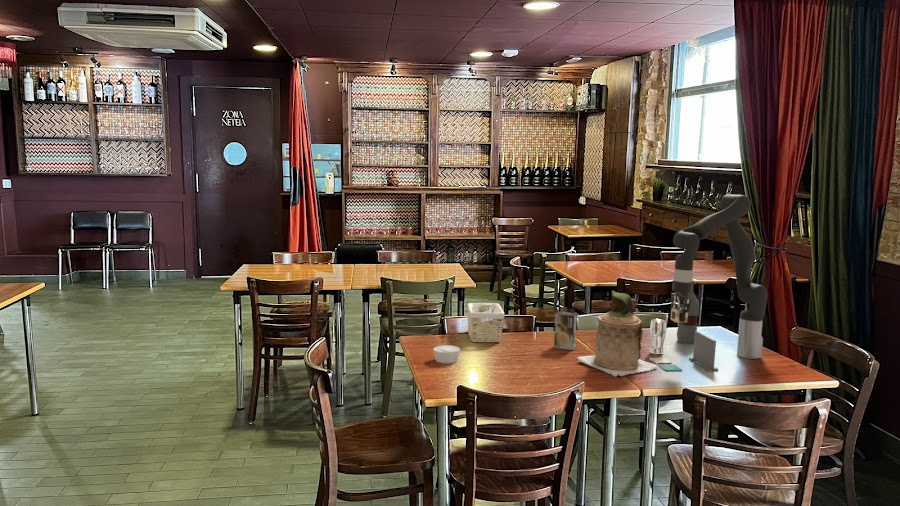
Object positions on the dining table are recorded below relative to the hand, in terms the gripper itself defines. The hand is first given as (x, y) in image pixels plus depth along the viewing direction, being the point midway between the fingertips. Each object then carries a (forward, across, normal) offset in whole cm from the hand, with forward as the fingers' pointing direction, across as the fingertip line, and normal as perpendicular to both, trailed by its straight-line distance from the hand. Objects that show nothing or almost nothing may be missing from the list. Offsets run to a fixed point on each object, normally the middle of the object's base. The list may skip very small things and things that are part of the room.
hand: (678, 319), depth 281 cm
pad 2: (+21, -2, +3) cm, 21 cm away
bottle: (+20, +39, -24) cm, 50 cm away
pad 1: (+20, +8, +3) cm, 22 cm away
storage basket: (+22, +51, +73) cm, 92 cm away
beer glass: (+20, +21, -1) cm, 30 cm away
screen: (+20, +2, -14) cm, 25 cm away
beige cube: (0, 0, 0) cm, 0 cm away
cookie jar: (+21, +3, +24) cm, 32 cm away
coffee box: (+21, +31, +39) cm, 54 cm away
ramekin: (+23, +13, +96) cm, 99 cm away
